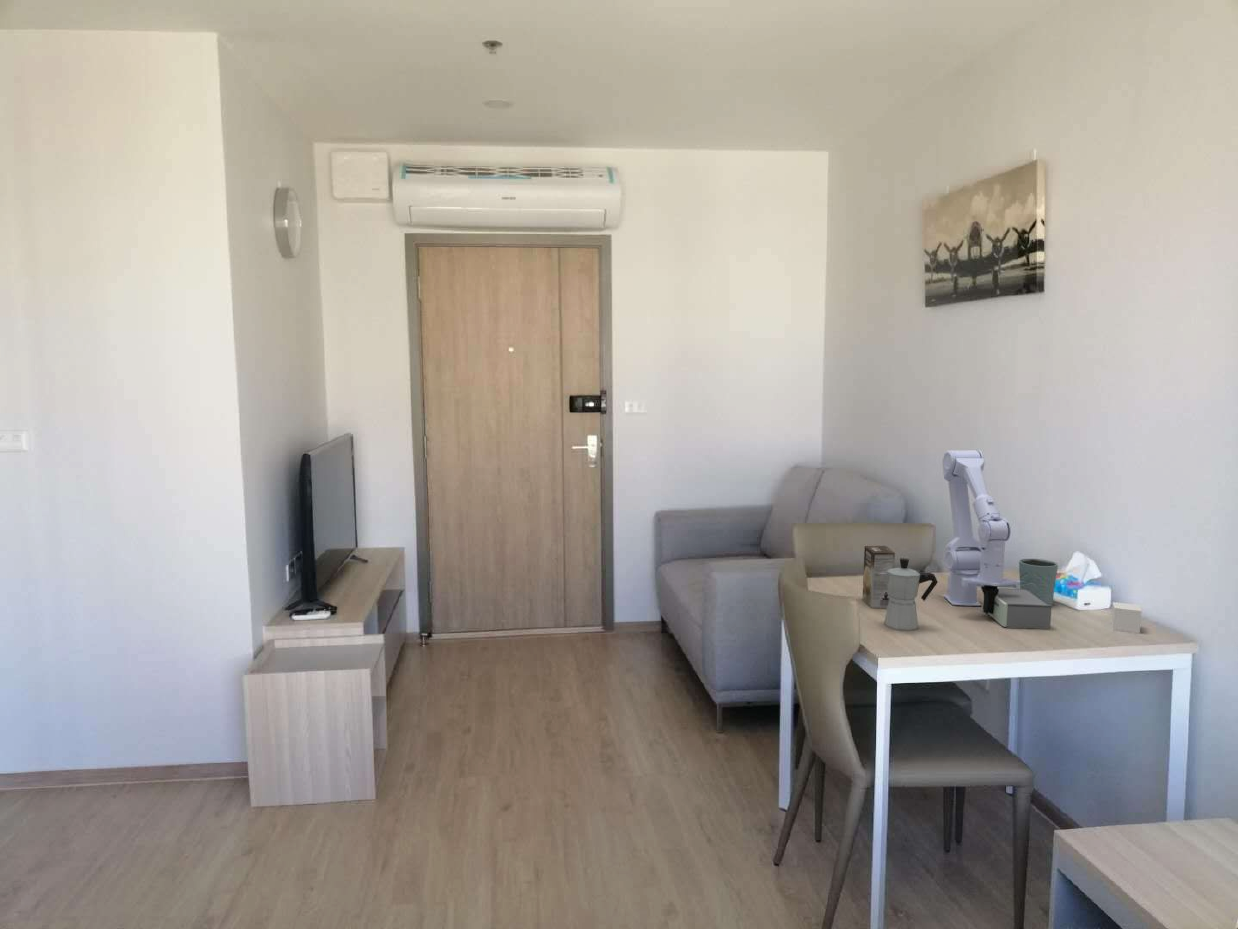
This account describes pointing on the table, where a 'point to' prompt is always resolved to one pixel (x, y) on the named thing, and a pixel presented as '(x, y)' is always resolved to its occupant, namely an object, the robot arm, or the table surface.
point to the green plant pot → (1038, 577)
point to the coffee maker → (904, 595)
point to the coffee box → (876, 575)
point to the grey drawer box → (1025, 609)
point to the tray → (999, 611)
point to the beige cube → (1126, 617)
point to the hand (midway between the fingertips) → (988, 612)
